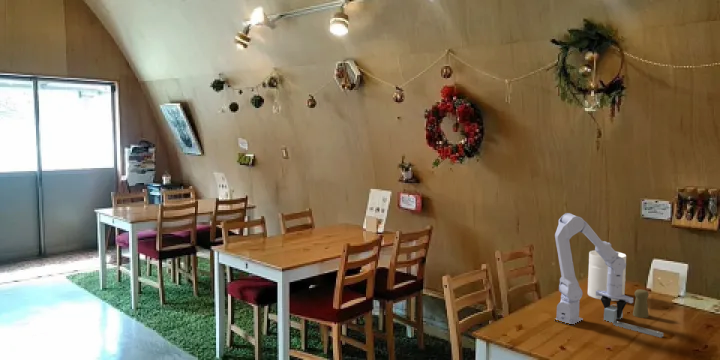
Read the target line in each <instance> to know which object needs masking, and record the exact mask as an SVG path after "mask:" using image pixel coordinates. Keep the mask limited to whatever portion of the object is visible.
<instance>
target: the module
mask: <svg viewBox="0 0 720 360" xmlns="http://www.w3.org/2000/svg"><path fill="white" fill-rule="evenodd" d="M623 312H624V310H623V311H622V314H621V317H620V318H617V304H616V303H612V304H610V306H609V307H607V308H604V309H603V321H604V320H606V321H605V322H607V321H609V322H608V323H611V322H612V324H613V322H614V321H617V320H622V319H623V317H624V315H623V314H624V313H623ZM621 318H622V319H621Z"/></svg>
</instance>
